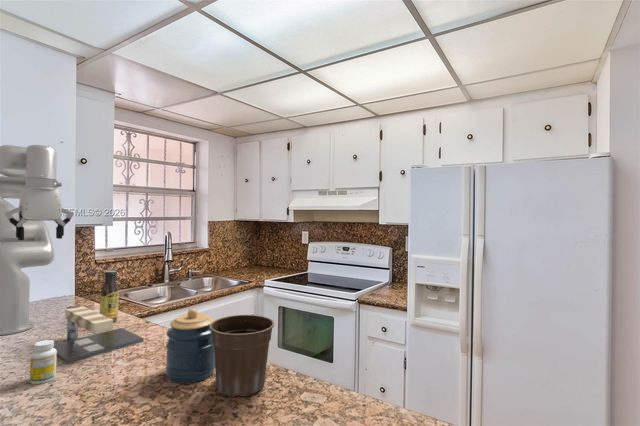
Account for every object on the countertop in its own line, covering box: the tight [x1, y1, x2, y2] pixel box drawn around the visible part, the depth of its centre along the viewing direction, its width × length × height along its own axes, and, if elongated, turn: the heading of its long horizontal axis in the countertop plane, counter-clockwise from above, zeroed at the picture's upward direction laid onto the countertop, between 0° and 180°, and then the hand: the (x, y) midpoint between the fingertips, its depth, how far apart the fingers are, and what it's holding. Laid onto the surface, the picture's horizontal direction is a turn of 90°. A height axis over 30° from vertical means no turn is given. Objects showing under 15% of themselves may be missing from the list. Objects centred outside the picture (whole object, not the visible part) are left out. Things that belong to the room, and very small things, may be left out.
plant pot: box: [210, 314, 275, 398], centre depth 89 cm, size 16×16×16 cm
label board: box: [53, 319, 145, 365], centre depth 114 cm, size 22×22×8 cm
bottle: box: [99, 270, 120, 323], centre depth 136 cm, size 7×6×20 cm
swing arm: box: [64, 305, 114, 335], centre depth 111 cm, size 26×5×3 cm, turn 54°
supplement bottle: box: [29, 339, 58, 385], centre depth 90 cm, size 5×5×10 cm
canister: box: [165, 308, 215, 384], centre depth 95 cm, size 13×13×18 cm
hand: (40, 239), depth 109 cm, fingers open, 9 cm apart
